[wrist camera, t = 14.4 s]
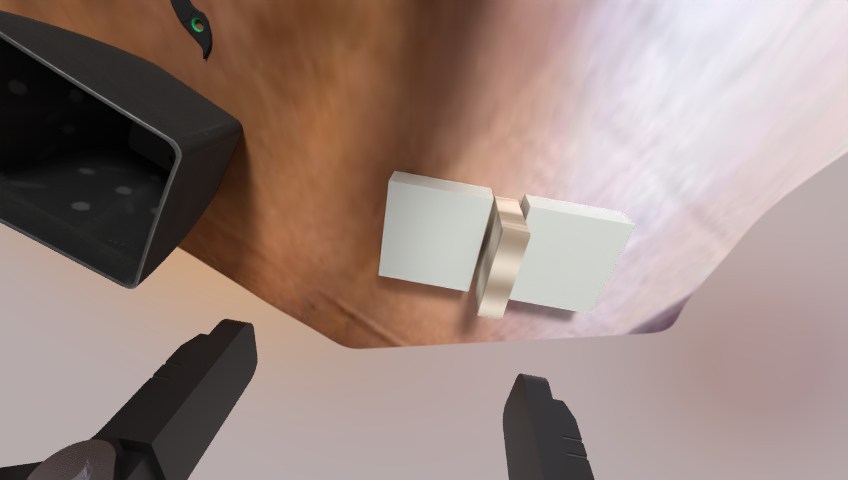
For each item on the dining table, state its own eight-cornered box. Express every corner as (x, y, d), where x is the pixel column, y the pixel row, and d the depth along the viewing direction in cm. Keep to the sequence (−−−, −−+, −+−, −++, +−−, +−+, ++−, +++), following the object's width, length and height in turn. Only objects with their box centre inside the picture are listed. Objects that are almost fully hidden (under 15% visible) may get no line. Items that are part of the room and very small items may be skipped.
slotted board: (394, 170, 45) (388, 180, 41) (621, 211, 45) (635, 225, 41) (384, 260, 52) (378, 275, 48) (581, 296, 51) (590, 313, 48)
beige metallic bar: (494, 196, 45) (502, 230, 37) (517, 199, 45) (530, 235, 37) (474, 270, 51) (477, 315, 42) (494, 274, 51) (501, 319, 42)
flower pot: (126, 12, 39) (-77, -13, 24) (277, 115, 43) (181, 147, 28) (99, 148, 47) (-64, 191, 33) (228, 224, 51) (134, 293, 36)
